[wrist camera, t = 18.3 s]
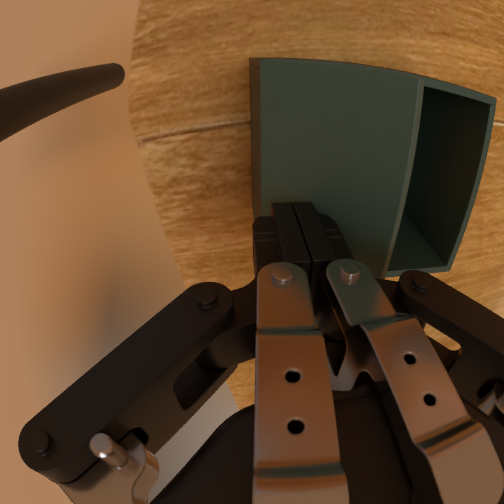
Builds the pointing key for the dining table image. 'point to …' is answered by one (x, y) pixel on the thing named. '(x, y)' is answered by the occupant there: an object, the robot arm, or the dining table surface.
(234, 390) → the dining table surface
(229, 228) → the dining table surface
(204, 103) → the dining table surface
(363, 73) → the flap
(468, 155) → the dark green box
